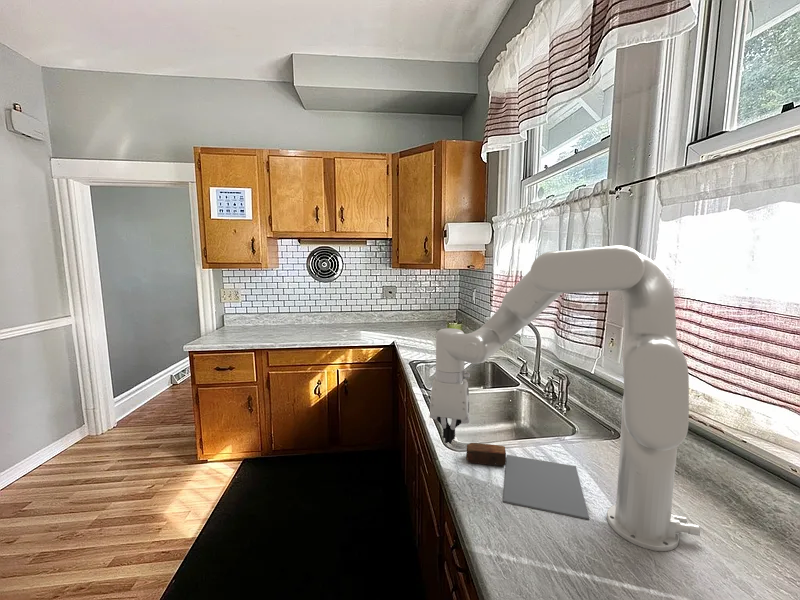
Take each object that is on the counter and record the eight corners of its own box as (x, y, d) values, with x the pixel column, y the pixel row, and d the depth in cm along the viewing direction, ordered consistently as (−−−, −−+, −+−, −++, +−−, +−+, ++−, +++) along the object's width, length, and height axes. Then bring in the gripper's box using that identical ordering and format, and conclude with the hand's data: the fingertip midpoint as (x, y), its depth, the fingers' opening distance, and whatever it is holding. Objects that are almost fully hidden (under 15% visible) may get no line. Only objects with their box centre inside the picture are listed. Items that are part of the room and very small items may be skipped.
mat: (575, 467, 98) (575, 466, 98) (589, 519, 78) (589, 518, 78) (507, 456, 104) (507, 454, 104) (503, 502, 84) (503, 500, 84)
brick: (505, 467, 97) (504, 458, 102) (506, 453, 97) (504, 445, 102) (466, 463, 100) (466, 454, 104) (466, 449, 99) (466, 441, 104)
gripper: (480, 373, 96) (478, 438, 98) (426, 368, 101) (425, 430, 103) (476, 382, 89) (475, 452, 91) (418, 376, 94) (418, 443, 96)
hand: (449, 440), depth 97 cm, fingers closed
